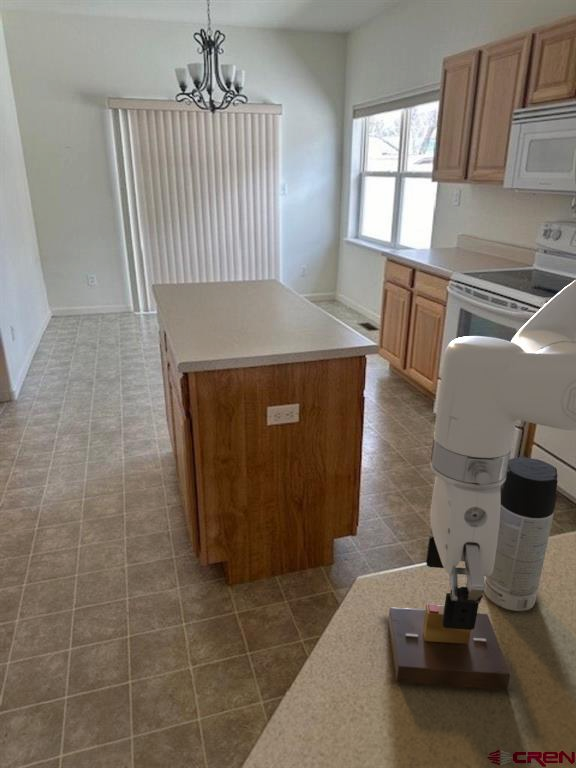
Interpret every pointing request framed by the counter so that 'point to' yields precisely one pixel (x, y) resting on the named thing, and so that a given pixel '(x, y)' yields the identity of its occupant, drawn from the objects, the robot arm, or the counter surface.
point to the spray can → (522, 533)
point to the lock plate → (446, 654)
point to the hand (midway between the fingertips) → (447, 594)
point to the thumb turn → (441, 627)
